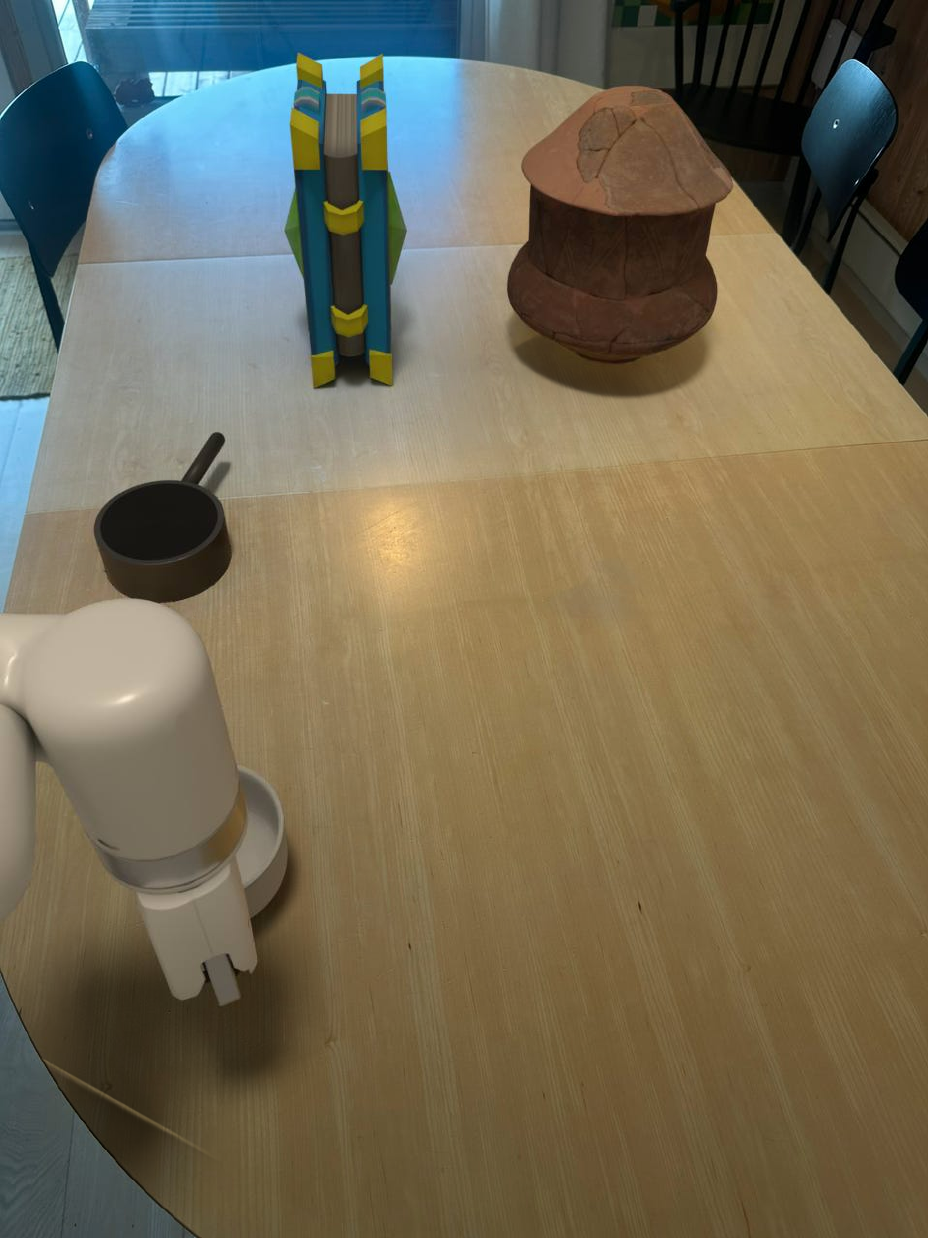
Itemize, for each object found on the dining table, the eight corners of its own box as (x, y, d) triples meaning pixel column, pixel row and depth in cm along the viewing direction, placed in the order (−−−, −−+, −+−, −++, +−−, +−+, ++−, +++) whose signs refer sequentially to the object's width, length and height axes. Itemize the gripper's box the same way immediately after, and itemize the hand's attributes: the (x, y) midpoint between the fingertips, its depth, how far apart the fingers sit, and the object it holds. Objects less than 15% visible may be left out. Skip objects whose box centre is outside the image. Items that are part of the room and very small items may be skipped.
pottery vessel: (715, 411, 116) (785, 152, 93) (501, 399, 116) (521, 138, 93) (689, 300, 133) (744, 60, 111) (504, 290, 133) (521, 47, 111)
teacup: (320, 851, 74) (312, 795, 68) (241, 977, 68) (224, 926, 62) (170, 783, 78) (150, 724, 72) (80, 896, 71) (50, 841, 65)
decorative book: (404, 296, 131) (402, 50, 109) (411, 395, 115) (410, 131, 93) (298, 297, 130) (274, 48, 108) (290, 397, 114) (260, 130, 92)
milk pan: (83, 589, 92) (69, 551, 88) (173, 457, 106) (165, 419, 102) (203, 612, 91) (194, 574, 87) (278, 475, 104) (273, 437, 101)
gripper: (66, 721, 51) (141, 884, 65) (117, 977, 42) (192, 1105, 56) (206, 679, 54) (251, 845, 67) (284, 914, 44) (317, 1052, 58)
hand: (224, 963), depth 61 cm, fingers closed
